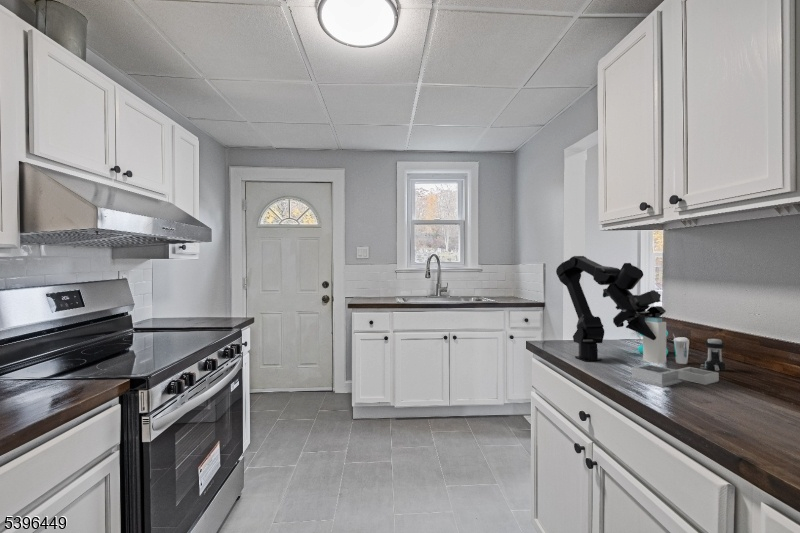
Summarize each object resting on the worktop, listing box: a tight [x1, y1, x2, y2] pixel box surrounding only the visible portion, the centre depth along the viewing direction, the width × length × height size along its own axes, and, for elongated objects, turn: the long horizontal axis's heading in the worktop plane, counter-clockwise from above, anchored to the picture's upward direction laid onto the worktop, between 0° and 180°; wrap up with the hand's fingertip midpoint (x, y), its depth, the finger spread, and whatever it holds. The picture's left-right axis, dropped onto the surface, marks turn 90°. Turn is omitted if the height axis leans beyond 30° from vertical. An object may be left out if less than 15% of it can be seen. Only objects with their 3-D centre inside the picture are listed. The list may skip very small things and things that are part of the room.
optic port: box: [628, 363, 683, 388], centre depth 120 cm, size 10×10×4 cm
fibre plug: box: [642, 317, 667, 365], centre depth 120 cm, size 4×4×13 cm
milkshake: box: [672, 333, 690, 365], centre depth 141 cm, size 5×5×10 cm
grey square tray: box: [676, 366, 720, 386], centre depth 121 cm, size 8×8×2 cm
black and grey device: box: [699, 338, 726, 372], centre depth 132 cm, size 7×5×10 cm
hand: (659, 338), depth 119 cm, fingers closed on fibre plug, 4 cm apart
